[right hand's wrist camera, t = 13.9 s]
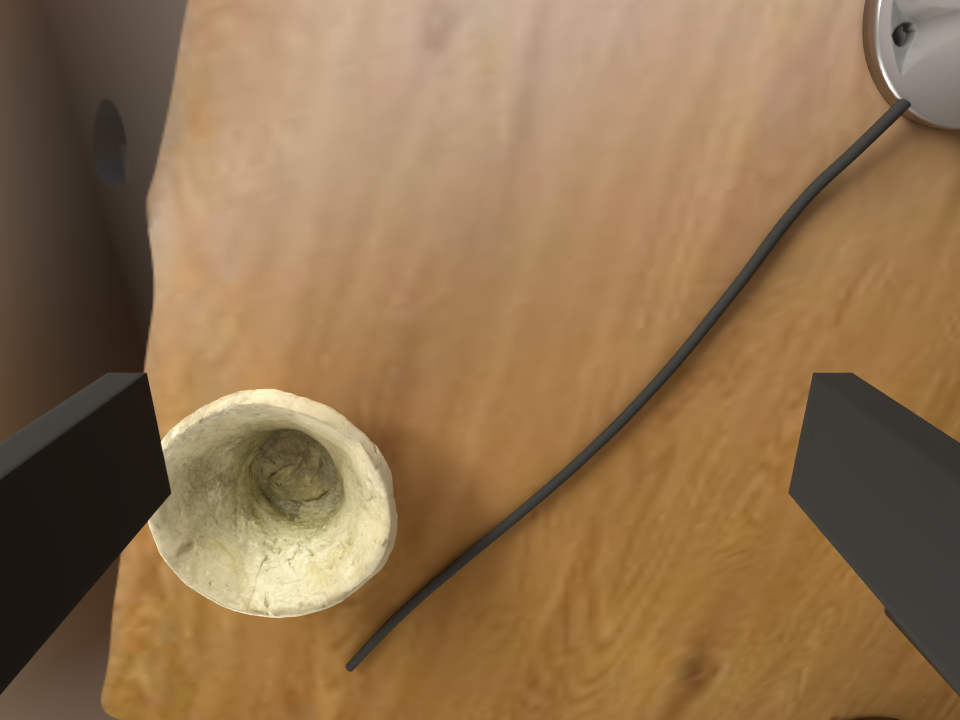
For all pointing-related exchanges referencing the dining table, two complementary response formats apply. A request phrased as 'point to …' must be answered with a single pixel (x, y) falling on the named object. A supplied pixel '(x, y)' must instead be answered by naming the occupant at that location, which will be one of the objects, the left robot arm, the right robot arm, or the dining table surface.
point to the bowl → (274, 504)
